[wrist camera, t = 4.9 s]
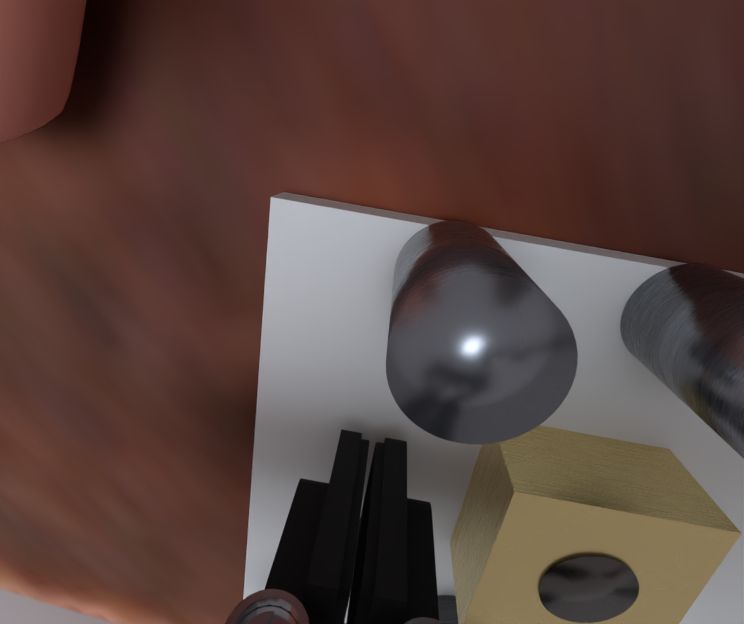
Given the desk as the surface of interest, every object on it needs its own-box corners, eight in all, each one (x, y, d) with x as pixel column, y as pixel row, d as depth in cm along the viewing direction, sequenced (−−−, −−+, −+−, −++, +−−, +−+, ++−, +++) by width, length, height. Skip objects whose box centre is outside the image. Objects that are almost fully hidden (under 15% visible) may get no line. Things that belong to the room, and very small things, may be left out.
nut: (669, 448, 10) (744, 535, 8) (603, 570, 12) (649, 672, 10) (490, 416, 10) (515, 494, 8) (450, 542, 12) (460, 637, 10)
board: (1425, 394, 9) (1536, 422, 8) (1002, 714, 14) (1043, 753, 13) (283, 191, 10) (271, 197, 9) (253, 574, 15) (242, 603, 14)
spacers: (1156, 344, 9) (1739, 500, 5) (797, 711, 14) (943, 924, 10) (309, 193, 9) (237, 232, 5) (267, 612, 14) (215, 785, 10)
